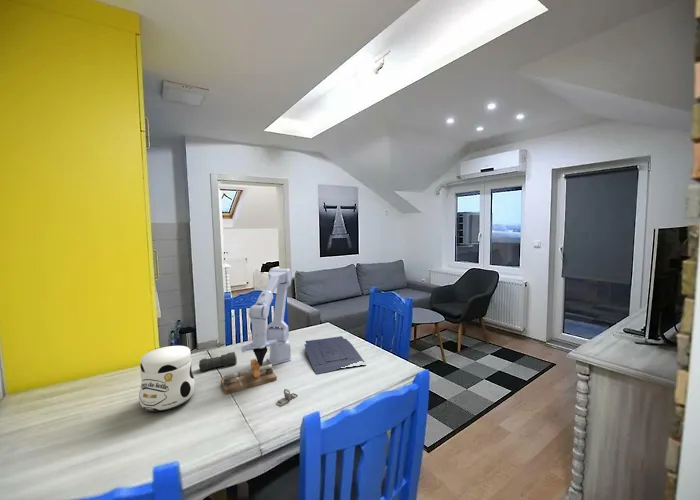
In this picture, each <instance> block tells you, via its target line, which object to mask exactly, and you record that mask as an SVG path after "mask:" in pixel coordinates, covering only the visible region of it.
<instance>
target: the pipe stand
mask: <svg viewBox="0 0 700 500" xmlns="http://www.w3.org/2000/svg"><path fill="white" fill-rule="evenodd" d="M252 373H253V369H251V368H250V369H245V370H242V371H237V372H235V373H230V374H226V375H223V378H221V379H220V384H221V386H222V389H223V391H224V393H225V395H228V394H232V393H235V392H238V391H242V390H246V389H249V388H253V387H256V386H260V385H263V384H267V383H270V382H274V381H277V379H278V378H277V377H278V376H277V375H276V374H275V372H274V370H273V365H272V364H271V363H270V364H266V365H261V366H259V373H260V377H257V378H254V376H253V375H252Z"/></svg>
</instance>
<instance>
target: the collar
mask: <svg viewBox="0 0 700 500" xmlns="http://www.w3.org/2000/svg"><path fill="white" fill-rule="evenodd" d="M259 367H260V366H259V363H258V362H257V358H253V359H250V369H253V373H252V375H253V376H254V378H257V377H260V373H259Z"/></svg>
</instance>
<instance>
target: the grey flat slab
mask: <svg viewBox="0 0 700 500" xmlns="http://www.w3.org/2000/svg"><path fill="white" fill-rule="evenodd" d="M304 342H305V343H304V350H305V353H306V354H307V357H308V360H309V362H310V364H311V366H312V367H311V368H312V369H313V370H314V372H315V374H316V375H319V374H323V373H328V372H333V370H334V371H337V370H336V369H339V368H341V367H345V366H348V365H350V364H353V363H357V362H359V361H364V359H363V357H362V356H361V355H360V353H359V352H358V351H357V349H356V348H355V346H354V345H353V344H352V343H351V341H350V340H348V339H347V338H344V337H343V336H342V335H340V336H334V337H326V338H318V339H312V340H305V341H304ZM339 370H340V369H339Z"/></svg>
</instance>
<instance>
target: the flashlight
mask: <svg viewBox="0 0 700 500" xmlns="http://www.w3.org/2000/svg"><path fill="white" fill-rule="evenodd" d="M237 363H238V359H237V353H236V351H231V352H228V353H226V354H221V355H220V356H216V357H211V358H209V357H208V358H206V357H205V358H202V359H200V360H199V364H198V367H199V371H200V372H205V371H206V372H207V371H208V370H210V369H214V368H218V367H225V366H231V365H236V364H237Z"/></svg>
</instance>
